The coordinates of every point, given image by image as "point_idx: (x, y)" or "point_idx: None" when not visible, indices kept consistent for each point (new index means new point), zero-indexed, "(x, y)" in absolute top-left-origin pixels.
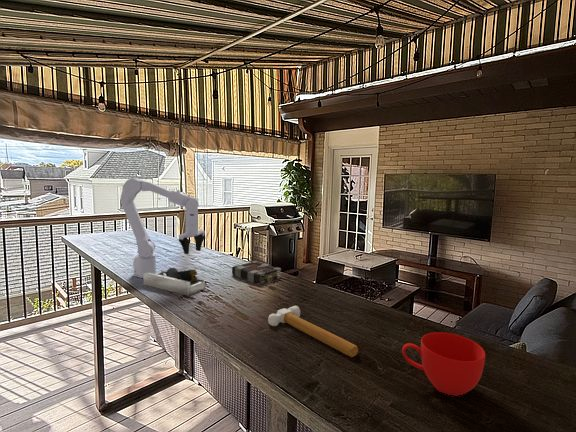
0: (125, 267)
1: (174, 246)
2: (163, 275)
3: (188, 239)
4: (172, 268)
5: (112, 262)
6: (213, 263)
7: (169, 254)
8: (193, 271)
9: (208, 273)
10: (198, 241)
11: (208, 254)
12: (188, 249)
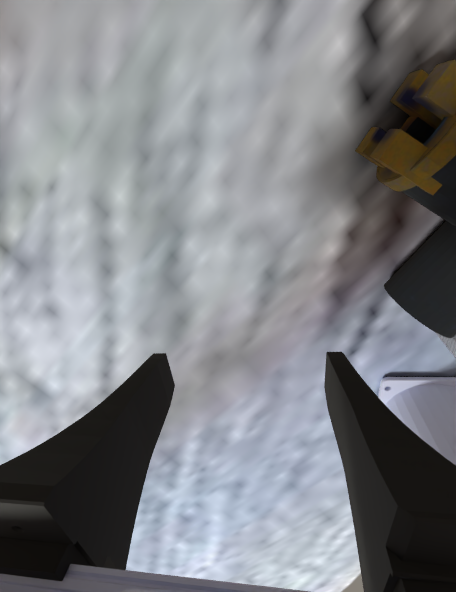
0: None
1: None
2: None
3: (408, 549)
4: (451, 317)
5: (335, 562)
6: (55, 312)
7: (140, 509)
8: (451, 107)
9: (198, 180)
10: (125, 456)
11: (7, 422)
12: (351, 383)
